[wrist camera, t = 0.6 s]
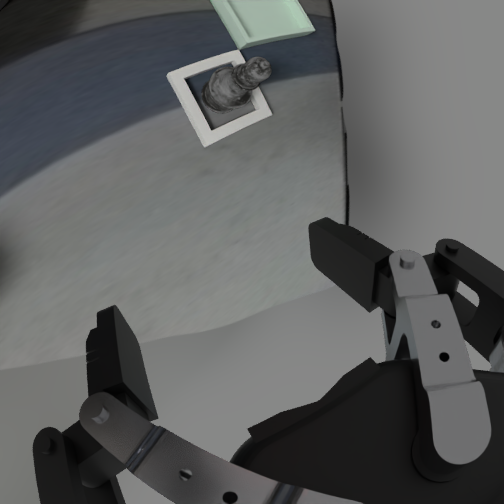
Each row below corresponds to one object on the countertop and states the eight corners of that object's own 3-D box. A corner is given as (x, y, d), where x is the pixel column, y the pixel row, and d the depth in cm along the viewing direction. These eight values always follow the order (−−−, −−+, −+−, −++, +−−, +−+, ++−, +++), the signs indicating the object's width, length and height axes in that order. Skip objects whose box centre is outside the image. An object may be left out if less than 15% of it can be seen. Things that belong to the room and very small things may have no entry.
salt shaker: (202, 72, 33) (245, 31, 22) (242, 81, 36) (293, 49, 25) (196, 111, 34) (239, 78, 23) (237, 119, 36) (291, 94, 26)
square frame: (166, 75, 31) (168, 73, 30) (235, 52, 34) (238, 49, 33) (204, 147, 35) (206, 146, 34) (268, 116, 38) (272, 114, 38)
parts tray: (198, -18, 28) (204, -27, 26) (268, -25, 33) (276, -31, 31) (238, 50, 34) (247, 43, 32) (306, 35, 39) (315, 30, 37)
